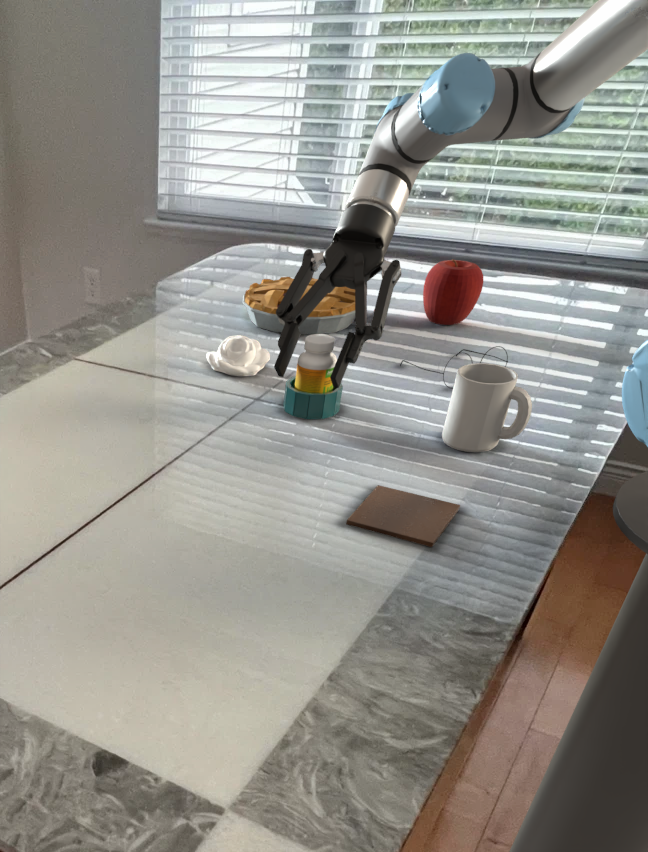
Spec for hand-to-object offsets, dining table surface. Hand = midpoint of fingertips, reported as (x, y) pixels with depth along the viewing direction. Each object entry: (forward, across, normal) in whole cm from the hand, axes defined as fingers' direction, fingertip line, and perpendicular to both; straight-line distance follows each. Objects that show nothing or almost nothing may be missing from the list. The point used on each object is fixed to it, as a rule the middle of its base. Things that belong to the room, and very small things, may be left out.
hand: (306, 377), depth 116 cm
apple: (-31, -5, -39) cm, 50 cm away
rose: (-5, +17, -14) cm, 22 cm away
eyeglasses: (-15, -13, -23) cm, 30 cm away
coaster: (+18, -22, +11) cm, 31 cm away
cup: (+2, -24, -6) cm, 25 cm away
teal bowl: (+2, 0, -6) cm, 7 cm away
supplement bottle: (+2, 0, -6) cm, 7 cm away
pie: (-25, +18, -33) cm, 45 cm away
